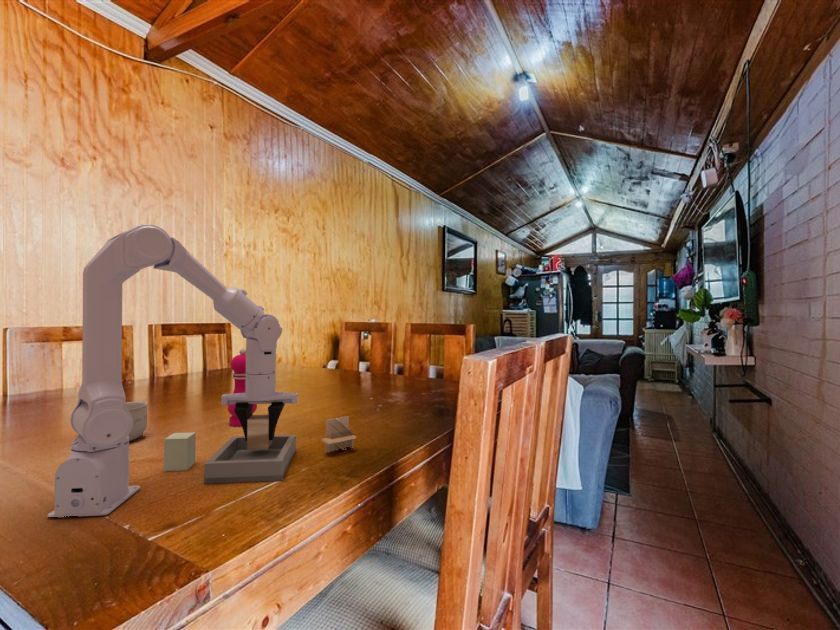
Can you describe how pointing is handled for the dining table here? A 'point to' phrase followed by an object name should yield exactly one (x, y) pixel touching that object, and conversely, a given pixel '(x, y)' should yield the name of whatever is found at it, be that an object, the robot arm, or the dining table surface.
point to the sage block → (179, 451)
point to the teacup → (137, 418)
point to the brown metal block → (258, 432)
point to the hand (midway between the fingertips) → (260, 439)
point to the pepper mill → (238, 384)
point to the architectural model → (338, 434)
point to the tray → (250, 461)
